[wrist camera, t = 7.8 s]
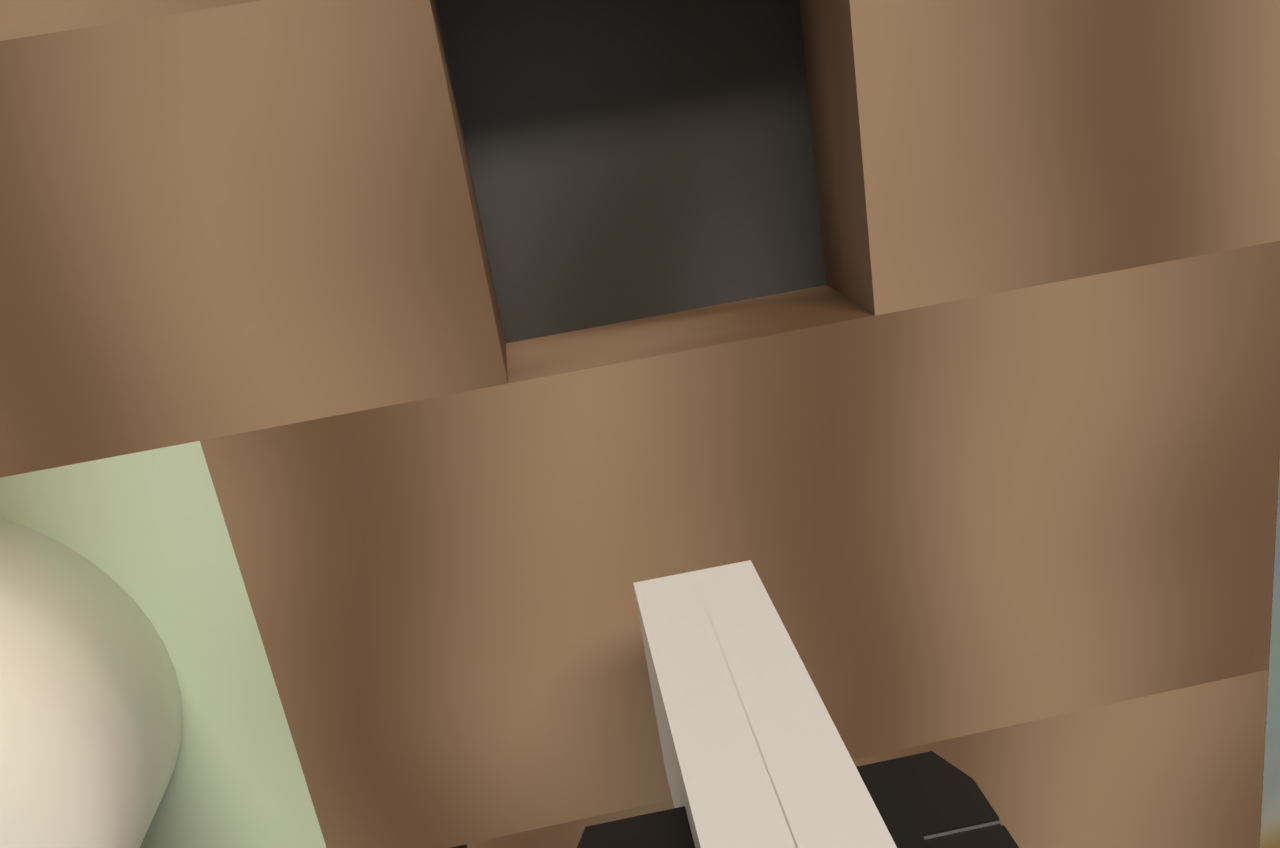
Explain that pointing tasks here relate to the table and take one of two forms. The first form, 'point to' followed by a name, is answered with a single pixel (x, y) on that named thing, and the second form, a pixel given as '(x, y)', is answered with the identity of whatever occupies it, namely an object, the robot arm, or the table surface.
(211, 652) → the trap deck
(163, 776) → the white rounded block
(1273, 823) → the table surface
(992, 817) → the robot arm
